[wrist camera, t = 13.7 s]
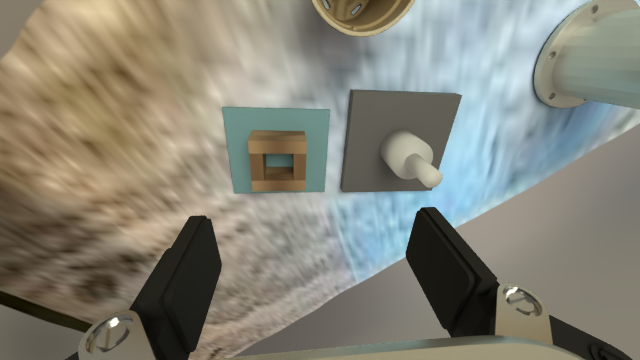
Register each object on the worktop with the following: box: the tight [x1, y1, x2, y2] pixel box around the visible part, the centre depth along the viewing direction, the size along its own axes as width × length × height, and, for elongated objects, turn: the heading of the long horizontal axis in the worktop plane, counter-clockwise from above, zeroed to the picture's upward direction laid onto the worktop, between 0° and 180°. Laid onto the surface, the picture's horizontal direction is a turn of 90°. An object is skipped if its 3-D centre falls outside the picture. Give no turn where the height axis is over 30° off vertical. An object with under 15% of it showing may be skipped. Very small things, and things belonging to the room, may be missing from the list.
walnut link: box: [248, 130, 307, 191], centre depth 31 cm, size 7×7×4 cm
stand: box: [341, 89, 462, 192], centre depth 30 cm, size 14×14×11 cm
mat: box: [222, 107, 330, 193], centre depth 33 cm, size 13×12×1 cm
